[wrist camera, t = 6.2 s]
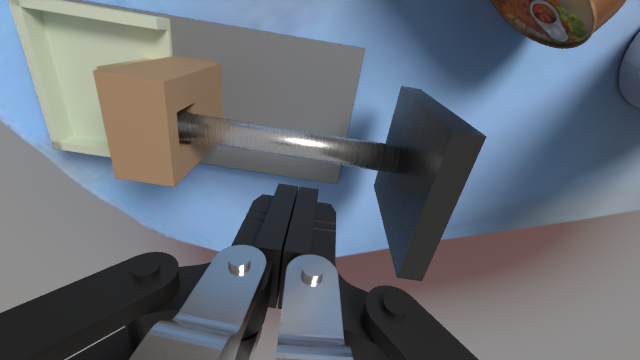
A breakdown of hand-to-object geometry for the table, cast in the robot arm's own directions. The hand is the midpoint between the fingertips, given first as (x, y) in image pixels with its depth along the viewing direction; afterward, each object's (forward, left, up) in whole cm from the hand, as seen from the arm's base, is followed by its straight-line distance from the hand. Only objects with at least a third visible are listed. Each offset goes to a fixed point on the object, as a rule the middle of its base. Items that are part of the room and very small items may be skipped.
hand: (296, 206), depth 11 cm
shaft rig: (+11, +2, -18) cm, 21 cm away
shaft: (+2, +2, -14) cm, 14 cm away
